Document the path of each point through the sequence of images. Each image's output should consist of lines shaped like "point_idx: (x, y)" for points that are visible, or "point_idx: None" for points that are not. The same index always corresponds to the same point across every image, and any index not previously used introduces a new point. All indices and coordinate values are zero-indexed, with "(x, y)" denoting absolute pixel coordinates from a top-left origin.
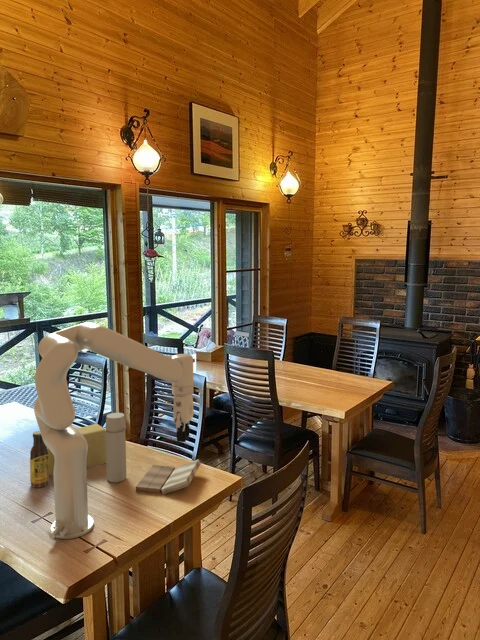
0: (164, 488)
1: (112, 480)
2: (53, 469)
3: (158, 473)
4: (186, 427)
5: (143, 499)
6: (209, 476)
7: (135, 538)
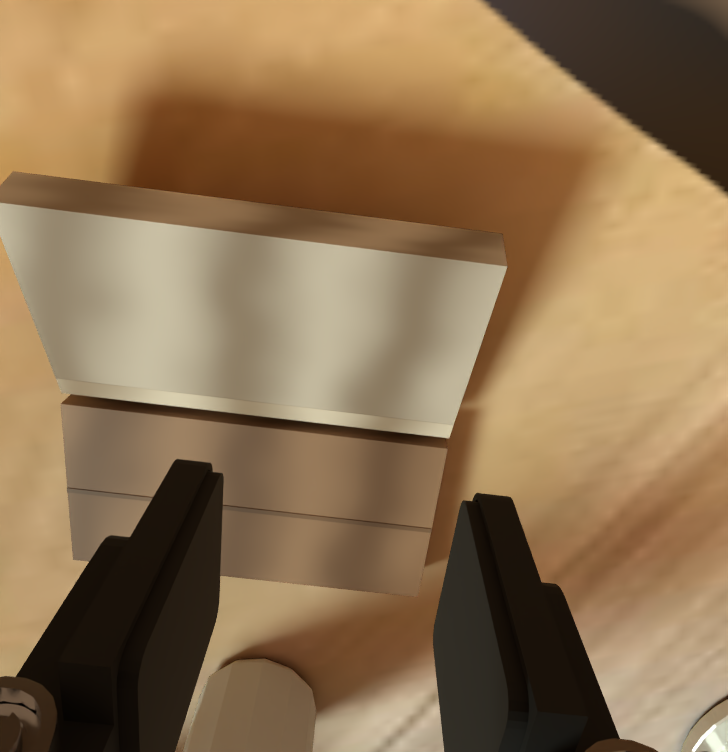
0: (455, 418)
1: (315, 717)
2: None
3: None
4: (146, 701)
5: None
6: (94, 68)
7: None
